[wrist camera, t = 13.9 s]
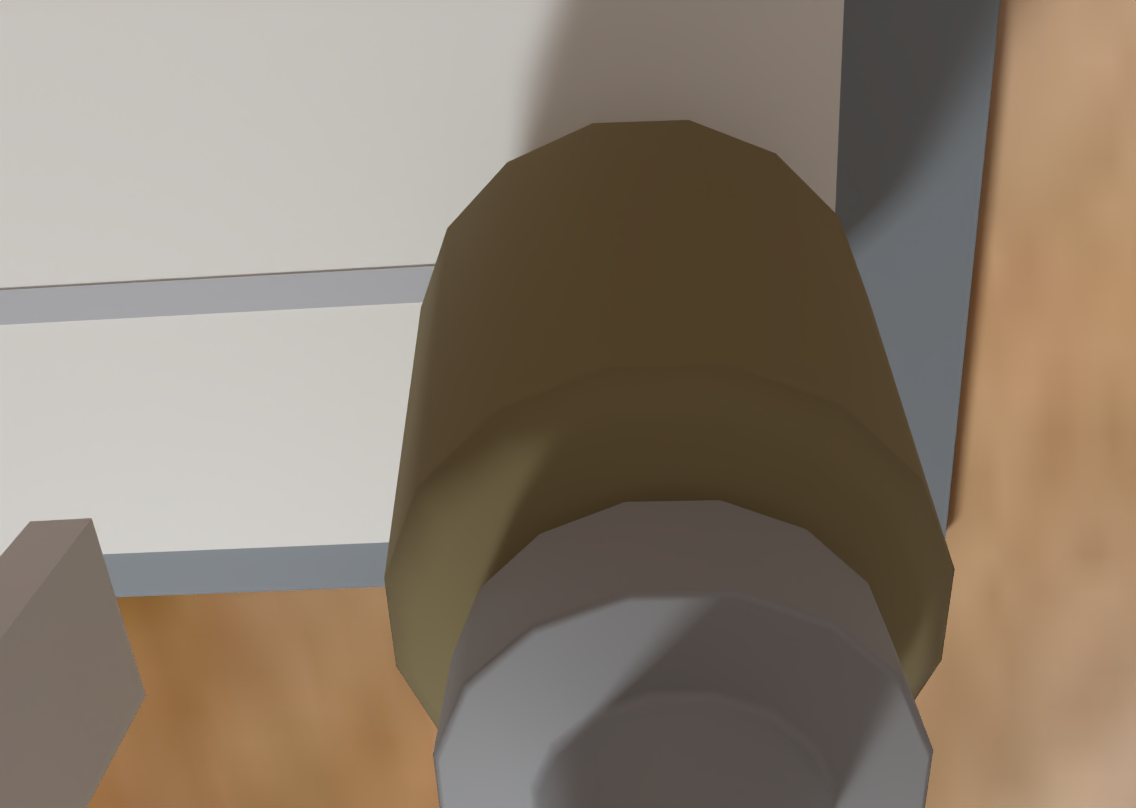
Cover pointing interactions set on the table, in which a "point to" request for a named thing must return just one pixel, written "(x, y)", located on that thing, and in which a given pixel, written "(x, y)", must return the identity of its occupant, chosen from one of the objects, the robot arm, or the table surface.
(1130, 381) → the table surface
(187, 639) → the table surface
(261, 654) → the table surface
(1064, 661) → the table surface
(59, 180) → the writing board
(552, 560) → the squeeze bottle
